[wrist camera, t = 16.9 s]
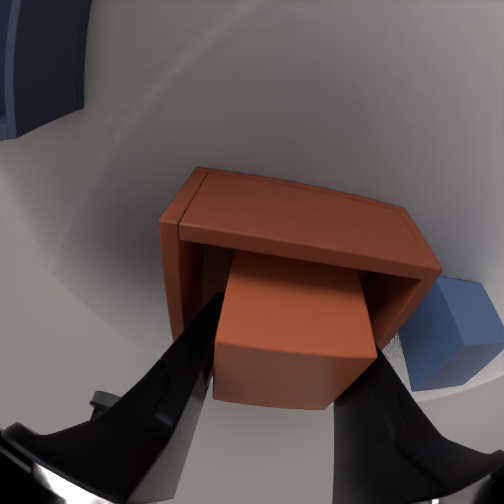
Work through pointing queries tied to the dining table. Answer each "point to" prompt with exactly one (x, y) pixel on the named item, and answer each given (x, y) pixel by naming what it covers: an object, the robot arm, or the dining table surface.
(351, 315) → the terracotta block
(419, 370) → the slate block
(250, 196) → the terracotta bin
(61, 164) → the dining table surface
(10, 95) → the slate bin
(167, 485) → the robot arm
